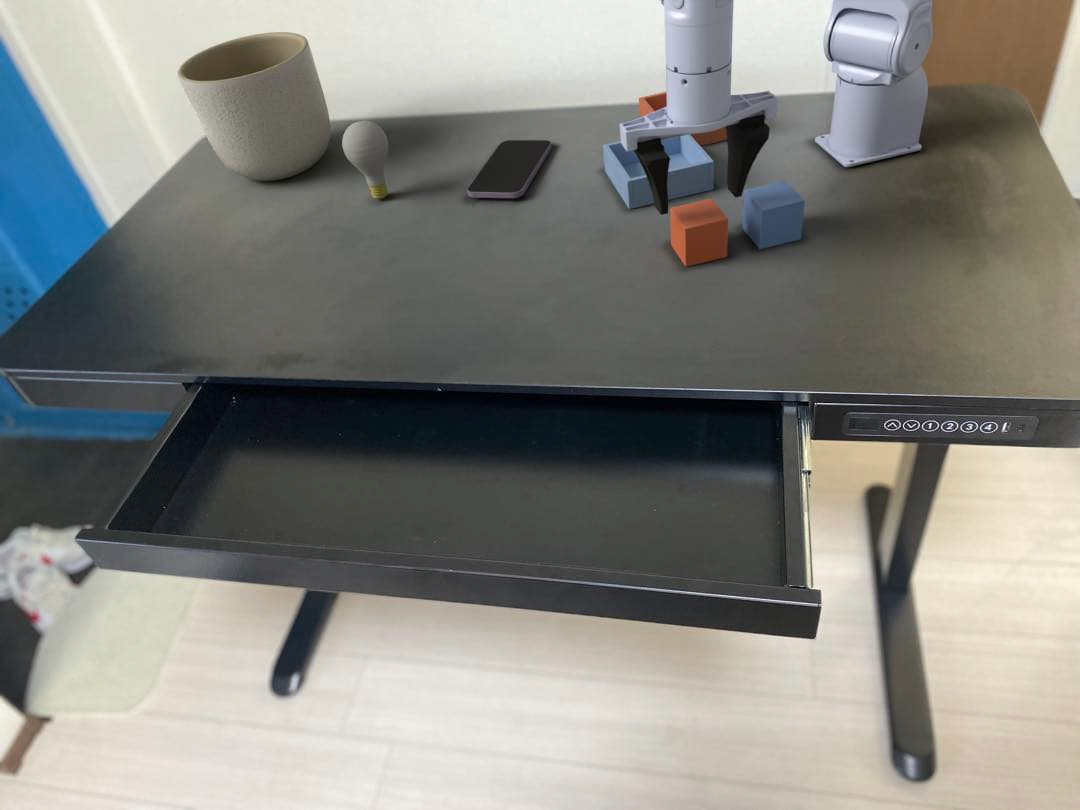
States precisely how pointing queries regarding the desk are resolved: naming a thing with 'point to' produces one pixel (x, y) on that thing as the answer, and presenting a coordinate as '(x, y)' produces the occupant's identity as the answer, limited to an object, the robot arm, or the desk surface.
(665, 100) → the terracotta bin
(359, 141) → the light bulb
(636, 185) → the slate-blue bin
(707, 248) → the terracotta block
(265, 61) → the planter
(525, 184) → the smartphone
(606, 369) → the desk surface
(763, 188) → the slate-blue block
